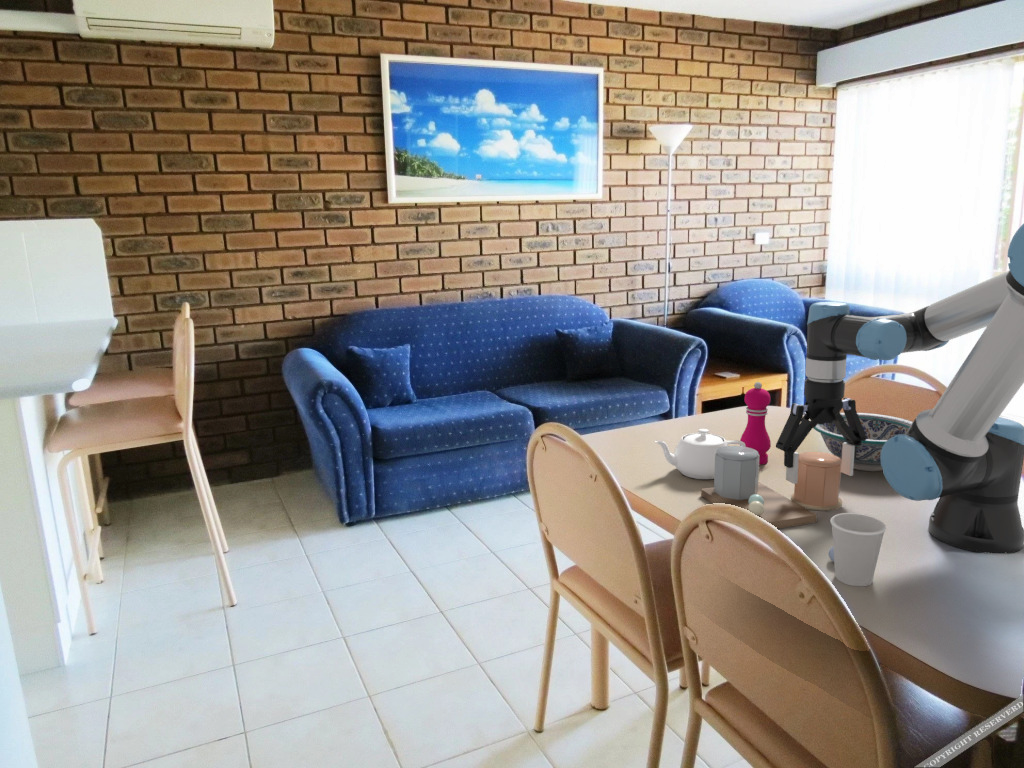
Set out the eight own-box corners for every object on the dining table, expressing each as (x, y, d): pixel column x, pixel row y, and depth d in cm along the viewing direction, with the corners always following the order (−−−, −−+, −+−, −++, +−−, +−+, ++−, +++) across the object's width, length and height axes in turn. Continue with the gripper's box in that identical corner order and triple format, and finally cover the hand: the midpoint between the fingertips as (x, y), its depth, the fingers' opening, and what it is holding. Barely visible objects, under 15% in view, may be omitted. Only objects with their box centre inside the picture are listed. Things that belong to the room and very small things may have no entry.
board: (816, 522, 145) (816, 514, 145) (754, 532, 142) (754, 524, 141) (757, 487, 164) (757, 481, 164) (700, 495, 160) (701, 489, 160)
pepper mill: (765, 456, 185) (770, 378, 180) (773, 465, 178) (777, 385, 173) (736, 456, 185) (739, 378, 181) (742, 465, 178) (746, 385, 174)
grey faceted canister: (764, 496, 155) (766, 455, 153) (729, 501, 153) (730, 460, 151) (741, 482, 163) (743, 444, 161) (707, 487, 161) (709, 448, 159)
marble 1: (768, 498, 147) (756, 490, 147) (762, 511, 146) (749, 502, 147) (762, 500, 150) (749, 492, 150) (756, 512, 149) (743, 504, 149)
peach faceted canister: (847, 503, 153) (850, 462, 151) (812, 508, 150) (815, 467, 148) (820, 489, 161) (822, 450, 158) (786, 494, 158) (788, 454, 156)
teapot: (733, 461, 182) (735, 419, 179) (755, 480, 169) (758, 435, 166) (646, 466, 180) (646, 424, 178) (661, 486, 167) (662, 440, 165)
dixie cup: (848, 562, 129) (852, 508, 126) (892, 582, 121) (897, 525, 119) (815, 574, 125) (819, 519, 123) (858, 595, 118) (863, 537, 115)
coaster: (852, 507, 152) (853, 504, 152) (811, 513, 149) (811, 510, 149) (820, 490, 161) (820, 487, 161) (781, 496, 159) (781, 493, 159)
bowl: (837, 484, 165) (840, 443, 163) (792, 449, 189) (794, 414, 187) (946, 480, 165) (951, 439, 163) (887, 446, 190) (890, 410, 188)
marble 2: (768, 504, 144) (754, 499, 143) (764, 519, 143) (749, 514, 143) (762, 503, 147) (748, 498, 146) (757, 517, 146) (743, 512, 146)
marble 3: (846, 561, 129) (852, 548, 128) (839, 569, 127) (845, 556, 126) (830, 551, 131) (835, 539, 130) (823, 559, 129) (828, 546, 128)
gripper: (862, 370, 156) (856, 465, 161) (760, 380, 150) (756, 479, 154) (889, 376, 149) (882, 475, 154) (783, 387, 143) (778, 491, 147)
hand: (819, 477), depth 154 cm, fingers open, 13 cm apart
